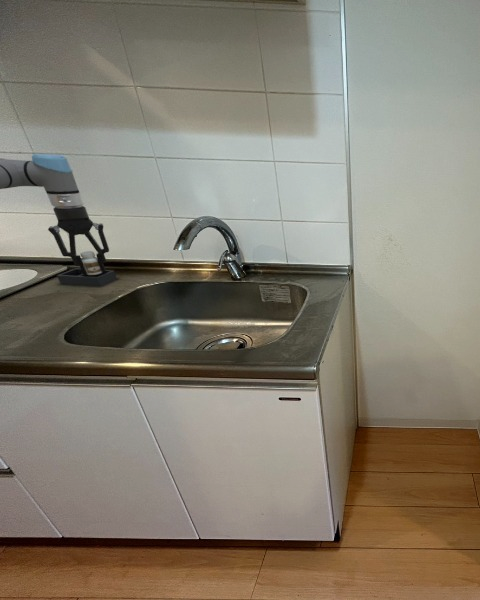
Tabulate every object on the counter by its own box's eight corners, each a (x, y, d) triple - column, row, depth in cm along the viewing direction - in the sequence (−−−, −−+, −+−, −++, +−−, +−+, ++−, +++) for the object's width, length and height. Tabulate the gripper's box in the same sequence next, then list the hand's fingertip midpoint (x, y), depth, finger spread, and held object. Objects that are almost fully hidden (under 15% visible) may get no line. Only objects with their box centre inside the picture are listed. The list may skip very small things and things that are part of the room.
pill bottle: (89, 276, 108) (81, 255, 105) (84, 273, 110) (76, 252, 107) (105, 273, 112) (97, 252, 108) (100, 270, 114) (92, 250, 110)
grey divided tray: (100, 286, 109) (96, 277, 108) (60, 284, 109) (56, 275, 107) (117, 279, 116) (113, 270, 114) (79, 276, 115) (75, 268, 114)
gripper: (27, 209, 93) (59, 280, 103) (104, 207, 103) (126, 271, 114) (31, 205, 98) (61, 273, 108) (104, 203, 108) (125, 265, 119)
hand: (94, 272), depth 111 cm, fingers closed on pill bottle, 4 cm apart
